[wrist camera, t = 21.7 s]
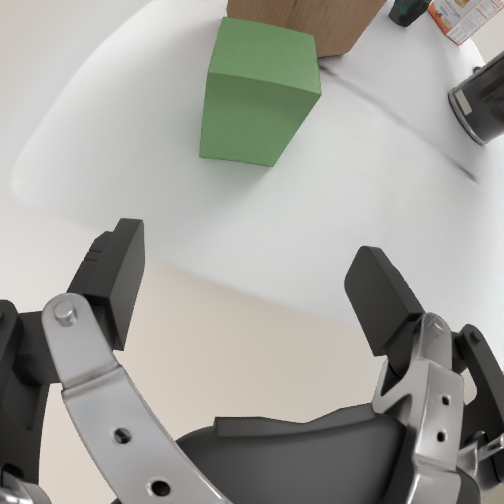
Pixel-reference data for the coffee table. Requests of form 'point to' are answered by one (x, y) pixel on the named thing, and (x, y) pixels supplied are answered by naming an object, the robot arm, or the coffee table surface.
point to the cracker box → (463, 16)
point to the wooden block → (313, 19)
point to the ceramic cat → (408, 11)
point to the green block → (257, 91)
